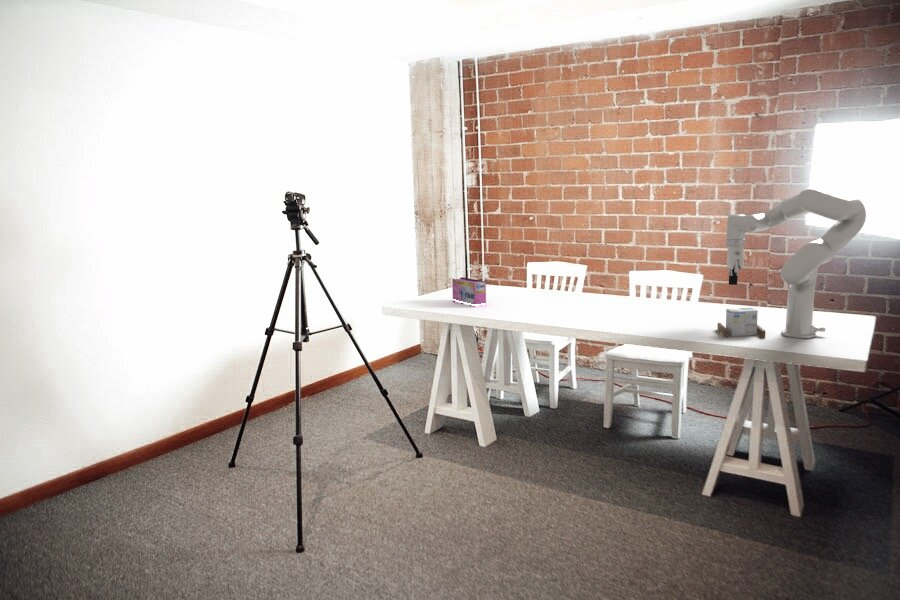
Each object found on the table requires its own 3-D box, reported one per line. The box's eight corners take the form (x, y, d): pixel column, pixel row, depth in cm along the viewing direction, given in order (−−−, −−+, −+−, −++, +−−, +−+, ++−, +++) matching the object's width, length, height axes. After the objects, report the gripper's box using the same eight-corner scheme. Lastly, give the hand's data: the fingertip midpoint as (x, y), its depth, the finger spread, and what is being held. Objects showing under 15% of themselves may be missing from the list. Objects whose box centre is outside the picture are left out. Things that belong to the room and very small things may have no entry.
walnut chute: (755, 329, 276) (755, 323, 275) (765, 338, 262) (765, 331, 261) (717, 329, 279) (717, 322, 278) (725, 337, 265) (725, 330, 264)
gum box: (450, 301, 368) (450, 278, 365) (462, 300, 372) (461, 276, 370) (475, 307, 348) (474, 282, 346) (486, 305, 352) (486, 281, 350)
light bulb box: (749, 331, 273) (750, 307, 271) (757, 335, 267) (758, 310, 265) (724, 332, 273) (725, 308, 271) (731, 336, 266) (733, 311, 264)
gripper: (749, 244, 271) (746, 287, 274) (740, 241, 285) (737, 281, 289) (730, 244, 272) (727, 287, 276) (722, 241, 287) (720, 281, 290)
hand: (732, 284), depth 282 cm, fingers closed
